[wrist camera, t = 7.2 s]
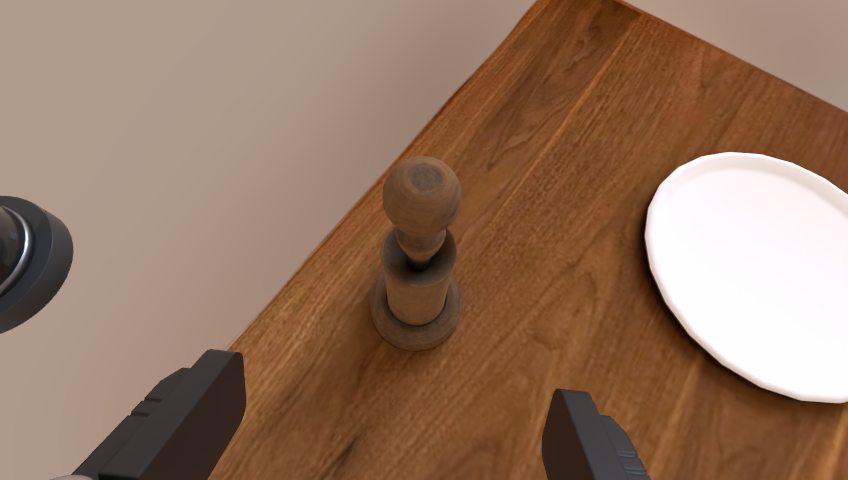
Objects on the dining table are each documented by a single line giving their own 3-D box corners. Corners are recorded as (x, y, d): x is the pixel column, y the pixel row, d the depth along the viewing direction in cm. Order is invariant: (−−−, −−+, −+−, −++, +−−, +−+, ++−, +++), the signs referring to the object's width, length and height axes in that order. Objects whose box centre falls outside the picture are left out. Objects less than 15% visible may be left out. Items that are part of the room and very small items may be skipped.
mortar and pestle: (454, 264, 32) (503, 102, 16) (464, 348, 30) (533, 257, 13) (370, 269, 32) (330, 108, 15) (372, 354, 29) (326, 269, 13)
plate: (668, 126, 39) (676, 117, 38) (905, 216, 36) (921, 209, 34) (608, 322, 31) (616, 319, 30) (905, 460, 28) (926, 462, 27)
